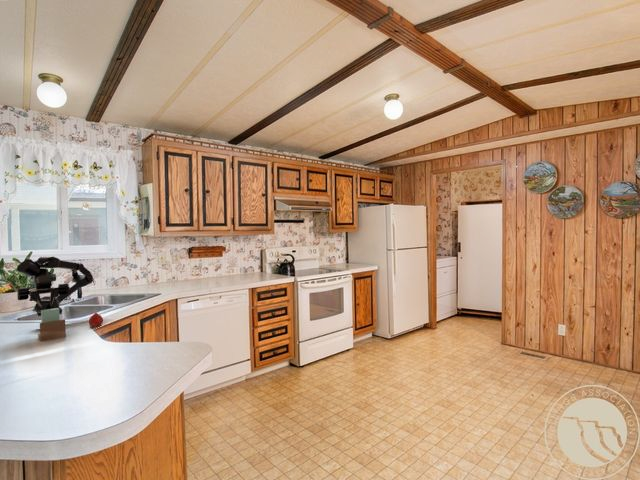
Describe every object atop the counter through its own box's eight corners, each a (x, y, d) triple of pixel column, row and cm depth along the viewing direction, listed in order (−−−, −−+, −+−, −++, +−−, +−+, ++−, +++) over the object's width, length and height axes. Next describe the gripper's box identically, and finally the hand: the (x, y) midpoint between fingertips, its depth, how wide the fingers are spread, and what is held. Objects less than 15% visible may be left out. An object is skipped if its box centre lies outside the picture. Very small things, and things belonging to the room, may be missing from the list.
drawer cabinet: (36, 337, 154) (35, 317, 154) (59, 333, 160) (59, 314, 160) (40, 344, 144) (39, 323, 144) (66, 339, 151) (65, 319, 150)
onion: (86, 329, 166) (85, 312, 166) (98, 326, 171) (98, 310, 171) (93, 330, 163) (92, 314, 163) (105, 327, 168) (105, 311, 168)
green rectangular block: (42, 337, 150) (40, 310, 150) (59, 334, 155) (57, 307, 154) (43, 338, 148) (41, 311, 148) (60, 335, 152) (59, 308, 152)
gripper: (16, 270, 153) (20, 298, 146) (67, 266, 167) (73, 292, 160) (15, 286, 159) (19, 313, 152) (65, 281, 173) (70, 306, 165)
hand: (46, 305), depth 157 cm, fingers open, 3 cm apart
